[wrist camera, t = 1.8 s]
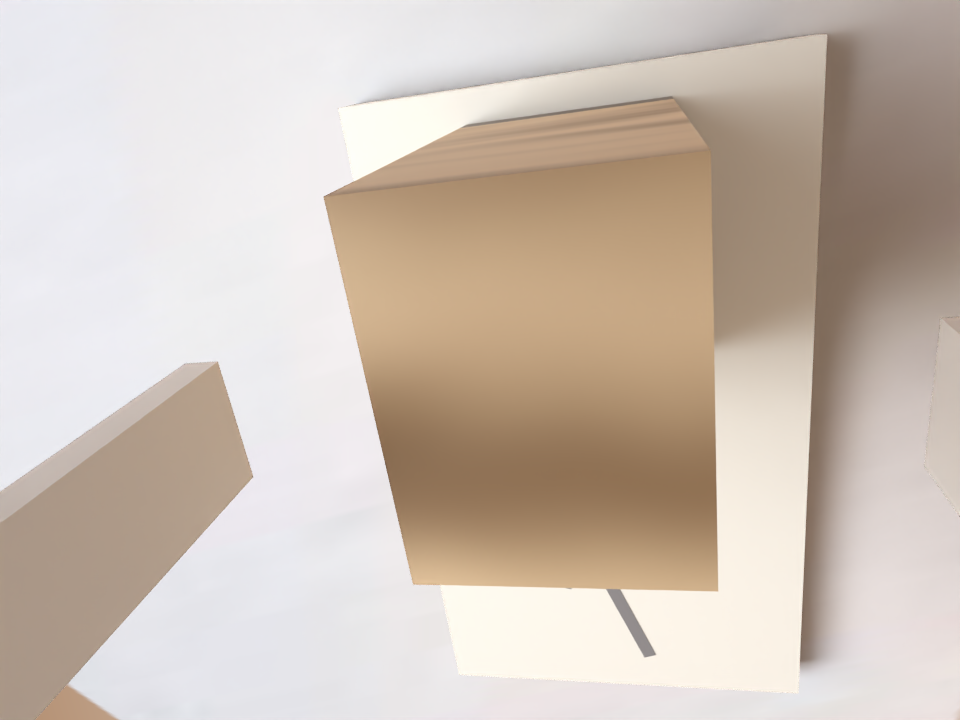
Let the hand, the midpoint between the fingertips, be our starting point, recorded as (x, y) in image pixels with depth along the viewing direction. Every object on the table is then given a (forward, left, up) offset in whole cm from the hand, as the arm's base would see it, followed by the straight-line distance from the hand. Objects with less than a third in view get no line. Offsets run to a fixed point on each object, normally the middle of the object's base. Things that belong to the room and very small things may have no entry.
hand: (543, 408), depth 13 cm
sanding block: (0, 0, -10) cm, 10 cm away
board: (+7, 0, -12) cm, 14 cm away
